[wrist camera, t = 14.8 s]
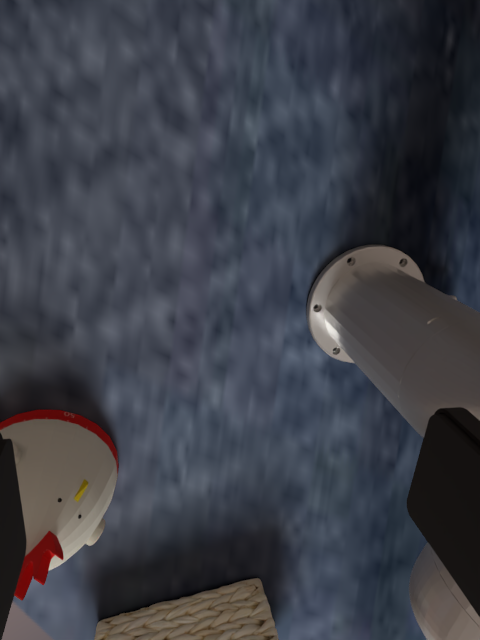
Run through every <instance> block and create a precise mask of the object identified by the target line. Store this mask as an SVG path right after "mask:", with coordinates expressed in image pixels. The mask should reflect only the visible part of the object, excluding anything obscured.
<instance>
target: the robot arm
mask: <svg viewBox="0 0 480 640" xmlns="http://www.w3.org/2000/svg"><path fill="white" fill-rule="evenodd" d="M349 258H350V260H349V261H347V260H348V259H349ZM400 260H401V261H400ZM316 304H317V305H316ZM315 305H316V306H315ZM314 306H315V307H314ZM307 323H308V327H309V330H310V332H311V335H312V337H313V339H314V340H315V341H316V343H317V344H318V345H319V346H320V347H321V349H322V350H323V351H324V352H325V353H327V354H328V355H330V356H331V357H333V358H335V359H338V360H341V361H344V362H350V363H355V364H356V365H357V366H358V367H359V368H360V369H361V370H362V371H363V372H364V374H365V375H366V376H367V377H368V378H369V379H370V380H371V381H372V382H373V384H374V385H375V386H376V387H377V388H378V389H379V390H380V391H381V392H382V393H383V395H384V396H385V397H386V398H387V399H388V400H389V401H390V402H391V403H392V405H393V406H394V407H395V408H396V409H397V410H398V411H399V412H400V413H401V415H402V416H403V417H404V418H405V419H406V420H407V421H408V423H409V424H410V425H411V426H412V427H413V428H414V429H415V430H416V431H417V432H418V433H419V434H420V435H421V436H422V437H423V438H424V439H423V443H422V447H421V450H420V454H419V458H418V461H417V465H416V469H415V472H414V476H413V480H412V483H411V487H410V491H409V494H408V498H407V509H408V512H409V515H410V516H411V518H412V520H413V521H414V522H415V524H416V525H417V527H418V528H419V530H420V531H421V533H422V534H423V536H424V537H425V539H426V540H427V541H428V542H427V544H426V545H425V547H424V548H423V550H422V552H421V553H420V555H419V556H418V558H417V560H416V562H415V564H414V567H413V569H412V572H411V576H410V583H409V594H410V602H411V606H412V609H413V612H414V615H415V618H416V620H417V622H418V624H419V626H420V628H421V630H422V632H423V633H424V635H425V637H426V639H427V640H480V313H479V312H477V311H475V310H474V309H472V308H470V307H468V306H466V305H464V304H463V303H461V302H459V301H457V298H456V297H455V296H448V295H446V294H444V293H442V292H440V291H439V290H437V289H435V288H433V287H431V286H429V285H428V284H426V283H425V282H424V278H423V275H422V273H421V271H420V269H419V267H418V266H417V264H416V263H415V262H414V261H413V260H412V259H411V258H410V257H409V256H407V255H406V254H404V253H403V252H401V251H399V250H397V249H395V248H393V247H389V246H385V245H365V246H359V247H356V248H354V249H351V250H348V251H346V252H345V253H343V254H341V255H340V256H338V257H336V258H335V259H334V260H333V261H332V262H330V263H329V264H328V265H327V266H326V267H325V268H324V270H323V271H322V272H321V273H320V274H319V276H318V277H317V279H316V281H315V283H314V284H313V286H312V289H311V291H310V294H309V297H308V302H307ZM26 543H27V540H26V531H25V525H24V518H23V511H22V504H21V497H20V490H19V483H18V477H17V470H16V463H15V456H14V449H13V443H12V440H11V439H3V437H2V435H1V433H0V640H1V639H2V636H3V632H4V629H5V625H6V621H7V618H8V614H9V611H10V608H11V604H12V600H13V597H14V593H15V590H16V586H17V583H18V579H19V576H20V572H21V569H22V565H23V562H24V558H25V553H26Z"/></svg>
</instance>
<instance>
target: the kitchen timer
mask: <svg viewBox="0 0 480 640" xmlns="http://www.w3.org/2000/svg"><path fill="white" fill-rule="evenodd" d="M0 433H1V435H2V437H3V439H11V440H12V443H13V449H14V456H15V463H16V470H17V477H18V483H19V490H20V497H21V504H22V511H23V518H24V525H25V531H26V540H27V543H26V553H25V558H24V562H23V565H22V569H21V572H20V576H19V579H18V583H17V586H16V590H15V593H14V596H16V597H17V598H19V599H20V600H23V599H24V597H25V595H26V592H27V590H28V588H29V585H30V583H31V580H32V577H34V579H35V580H36V581H38V582H39V583H41V584H42V585H44V584H45V581H46V578H47V574H48V571H49V570H51V569H53V568H55V567H57V566H59V565H61V564H62V563H64V562H65V561H66V560H67V559H69V558H70V557H71V556H72V555H73V554H75V553H76V552H77V551H78V550H79V549H80V548H81V547H82V546H83V545H84V544H87V545H89V546H90V545H93V544H94V543H95V542H96V541H97V540H98V539H99V537H100V535H101V534H102V532H103V530H104V527H105V520H104V519H103V518H102V517H103V516H104V514H105V512H106V510H107V508H108V506H109V504H110V502H111V500H112V497H113V493H114V489H115V485H116V481H117V477H118V466H119V465H118V457H117V450H116V448H115V446H114V444H113V442H112V440H111V438H110V437H109V436H108V435H107V434H106V433H105V432H104V431H103V430H102V429H101V428H100V427H99V426H98V425H97V424H96V423H94V422H92V421H90V420H88V419H86V418H84V417H83V416H81V415H78V414H74V413H70V412H66V411H62V410H34V411H30V412H25V413H20V414H17V415H15V416H13V417H11V418H9V419H7V420H5V421H2V422H0Z"/></svg>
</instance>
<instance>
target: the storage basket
mask: <svg viewBox="0 0 480 640" xmlns="http://www.w3.org/2000/svg"><path fill="white" fill-rule="evenodd" d="M270 610H271V609H270V606H269V603H268V601H267V597H266V595H265V594H264V590H263V586H262V582H261V580H260V579H259V578H254V579H249V580H244V581H240V582H237V583H234V584H231V585H228V586H222V587H220V588H217V589H213V590H209V591H204V592H201V593H197V594H195V595H192V596H188V597H181V598H180V599H178V600H171V601H164V602H160V603H156V604H153V605H151V606H149V607H147V608H145V607H144V608H141V609H140V610H137V611H134V612H129V613H123V614H120V615H118V616H114V617H111V618H107V619H103V620H101V621H99V622H98V624H97V627H96V635H95V639H94V640H279V639H278V634H277V630H276V628H275V622H274V619H273V618H272V614H271V611H270Z"/></svg>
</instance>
